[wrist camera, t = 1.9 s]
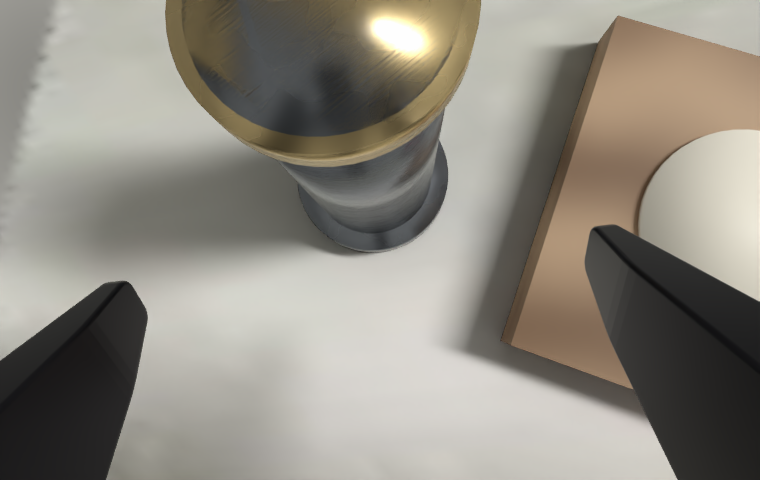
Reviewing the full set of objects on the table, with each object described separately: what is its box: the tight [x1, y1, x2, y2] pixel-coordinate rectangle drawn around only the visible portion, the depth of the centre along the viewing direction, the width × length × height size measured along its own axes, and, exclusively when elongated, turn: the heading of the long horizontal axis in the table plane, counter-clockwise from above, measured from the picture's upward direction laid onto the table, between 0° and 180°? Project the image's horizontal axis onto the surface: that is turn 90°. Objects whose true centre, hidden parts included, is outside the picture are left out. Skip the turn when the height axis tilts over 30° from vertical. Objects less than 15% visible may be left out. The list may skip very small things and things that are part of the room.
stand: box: [501, 16, 760, 390], centre depth 19 cm, size 14×14×2 cm
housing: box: [165, 0, 481, 252], centre depth 15 cm, size 6×6×13 cm
